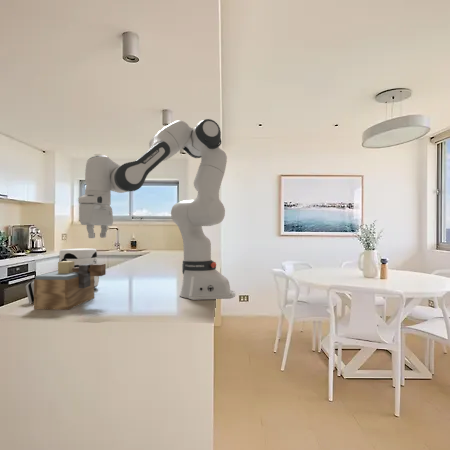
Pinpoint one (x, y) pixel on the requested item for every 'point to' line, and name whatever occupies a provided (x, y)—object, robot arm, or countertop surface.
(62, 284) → the box
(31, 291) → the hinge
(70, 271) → the lid
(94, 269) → the wooden mallet
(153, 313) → the countertop surface
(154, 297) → the countertop surface
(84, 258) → the milk container
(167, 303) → the countertop surface
